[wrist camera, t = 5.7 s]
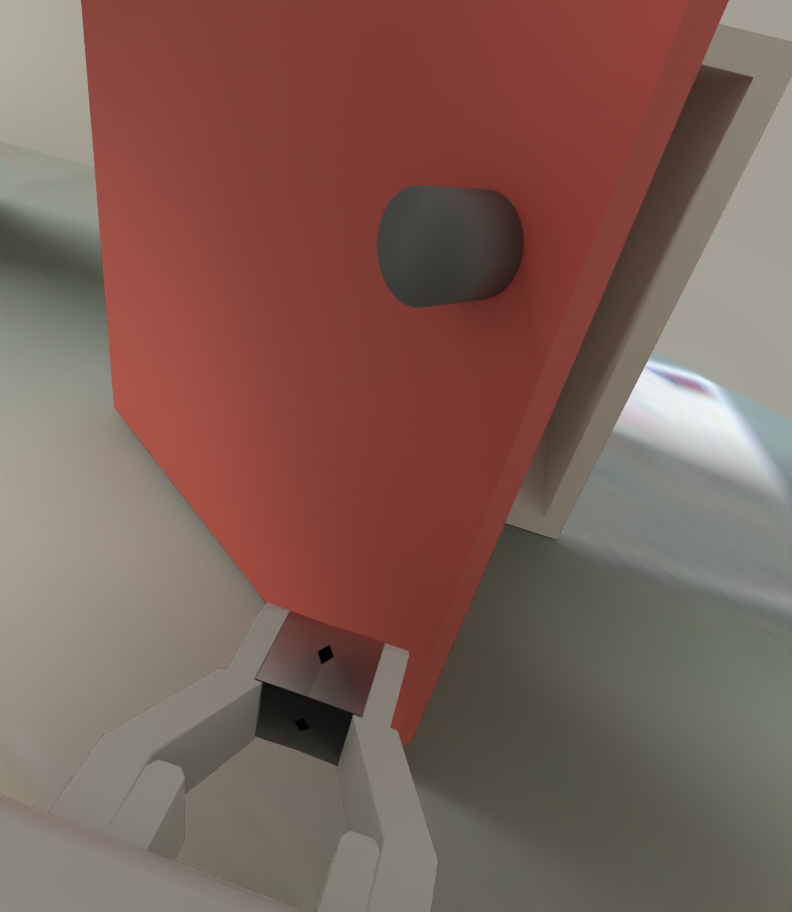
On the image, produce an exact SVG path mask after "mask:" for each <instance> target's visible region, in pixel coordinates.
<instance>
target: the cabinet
mask: <svg viewBox="0 0 792 912" xmlns="http://www.w3.org/2000/svg"><path fill="white" fill-rule="evenodd" d="M791 77H792V42H791V41H787V40H783V39H779V38H775V37H771V36H767V35H763V34H758V33H755V32H750V31H746V30H742V29H738V28H734V27H730V26H726V25H721V24H718V27H717V29H716V31H715V34H714V36H713V38H712V41H711V43H710V45H709V48H708V50H707V52H706V55H705V57H704V59H703V62H702V64H701V66H700V69H699V71H698V73H697V76H696V78H695V80H694V83H693V85H692V87H691V90H690V92H689V94H688V97H687V99H686V101H685V104H684V106H683V108H682V111H681V113H680V115H679V118H678V120H677V122H676V125H675V127H674V129H673V132H672V134H671V136H670V139H669V141H668V143H667V146H666V148H665V150H664V153H663V155H662V157H661V160H660V162H659V165H658V167H657V169H656V172H655V174H654V176H653V179H652V181H651V183H650V186H649V188H648V190H647V193H646V195H645V197H644V200H643V202H642V204H641V207H640V209H639V211H638V214H637V216H636V218H635V221H634V223H633V225H632V228H631V230H630V232H629V235H628V237H627V239H626V242H625V244H624V246H623V249H622V251H621V253H620V256H619V258H618V260H617V263H616V265H615V267H614V270H613V272H612V274H611V277H610V279H609V281H608V284H607V286H606V288H605V291H604V293H603V295H602V298H601V300H600V302H599V305H598V307H597V309H596V312H595V314H594V316H593V319H592V321H591V323H590V326H589V328H588V330H587V333H586V335H585V337H584V340H583V342H582V344H581V347H580V349H579V351H578V354H577V356H576V358H575V361H574V363H573V365H572V368H571V370H570V373H569V375H568V377H567V380H566V382H565V384H564V387H563V389H562V391H561V394H560V396H559V398H558V401H557V403H556V405H555V408H554V410H553V412H552V415H551V417H550V419H549V422H548V424H547V426H546V429H545V431H544V433H543V436H542V438H541V440H540V443H539V445H538V447H537V450H536V452H535V454H534V457H533V459H532V461H531V464H530V466H529V468H528V471H527V473H526V475H525V478H524V480H523V482H522V485H521V487H520V489H519V492H518V494H517V496H516V499H515V501H514V503H513V506H512V508H511V510H510V513H509V515H508V517H507V520H506V522H505V523H506V524H509V525H512V526H515V527H519V528H522V529H525V530H528V531H531V532H534V533H537V534H541V535H544V536H547V537H550V538H553V539H556V540H557V538H558V536H559V534H560V532H561V530H562V528H563V526H564V524H565V522H566V520H567V518H568V516H569V514H570V512H571V510H572V508H573V506H574V504H575V503H576V501H577V499H578V497H579V495H580V493H581V491H582V489H583V487H584V485H585V483H586V481H587V479H588V477H589V475H590V473H591V471H592V469H593V467H594V465H595V463H596V461H597V459H598V457H599V455H600V453H601V451H602V449H603V447H604V445H605V443H606V442H607V440H608V438H609V436H610V434H611V432H612V430H613V428H614V426H615V424H616V422H617V420H618V418H619V416H620V414H621V412H622V410H623V408H624V406H625V404H626V402H627V400H628V398H629V396H630V394H631V392H632V390H633V388H634V386H635V384H636V382H637V380H638V379H639V377H640V375H641V373H642V371H643V369H644V367H645V365H646V363H647V361H648V359H649V357H650V355H651V353H652V351H653V349H654V347H655V345H656V343H657V341H658V339H659V337H660V335H661V333H662V331H663V329H664V327H665V325H666V323H667V321H668V319H669V317H670V315H671V314H672V312H673V310H674V307H675V305H676V304H677V302H678V300H679V298H680V296H681V294H682V292H683V290H684V288H685V286H686V284H687V282H688V280H689V278H690V276H691V274H692V272H693V270H694V268H695V266H696V264H697V262H698V260H699V258H700V256H701V254H702V253H703V250H704V248H705V247H706V245H707V243H708V241H709V239H710V237H711V235H712V233H713V231H714V229H715V227H716V225H717V223H718V221H719V219H720V217H721V215H722V213H723V211H724V209H725V207H726V205H727V203H728V201H729V199H730V197H731V195H732V193H733V191H734V190H735V187H736V186H737V184H738V182H739V180H740V178H741V176H742V173H743V172H744V170H745V168H746V166H747V164H748V162H749V160H750V158H751V156H752V154H753V152H754V150H755V148H756V146H757V144H758V142H759V140H760V138H761V136H762V134H763V132H764V130H765V128H766V126H767V124H768V123H769V121H770V119H771V117H772V115H773V113H774V111H775V109H776V107H777V105H778V103H779V101H780V99H781V97H782V95H783V93H784V91H785V89H786V87H787V85H788V83H789V81H790V79H791Z"/></svg>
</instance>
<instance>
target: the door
mask: <svg viewBox="0 0 792 912" xmlns="http://www.w3.org/2000/svg"><path fill="white" fill-rule="evenodd" d="M728 1H729V0H81V5H82V15H83V29H84V42H85V54H86V66H87V78H88V91H89V102H90V115H91V127H92V140H93V152H94V164H95V177H96V189H97V202H98V214H99V226H100V238H101V251H102V263H103V275H104V288H105V300H106V312H107V325H108V337H109V349H110V361H111V374H112V386H113V398H114V408H115V409H116V410H117V412H118V413H119V414H120V415H121V417H122V418H123V419H124V421H125V422H126V423H127V424H128V426H129V427H130V428H131V430H132V431H133V432H134V433H135V435H136V436H137V437H138V439H139V440H140V441H141V442H142V444H143V445H144V446H145V448H146V449H147V450H148V451H149V453H150V454H151V455H152V457H153V458H154V459H155V460H156V462H157V463H158V464H159V466H160V467H161V468H162V469H163V471H164V472H165V473H166V475H167V476H168V477H169V478H170V480H171V481H172V482H173V484H174V485H175V486H176V487H177V489H178V490H179V491H180V493H181V494H182V495H183V496H184V498H185V499H186V500H187V502H188V503H189V504H190V505H191V507H192V508H193V509H194V511H195V512H196V513H197V514H198V516H199V517H200V518H201V520H202V521H203V522H204V523H205V525H206V526H207V527H208V529H209V530H210V531H211V532H212V534H213V535H214V536H215V538H216V539H217V540H218V541H219V543H220V544H221V545H222V547H223V548H224V549H225V551H226V552H227V553H228V554H229V556H230V557H231V558H232V560H233V561H234V562H235V563H236V565H237V566H238V567H239V569H240V570H241V571H242V572H243V574H244V575H245V576H246V578H247V579H248V580H249V581H250V583H251V584H252V585H253V587H254V588H255V589H256V590H257V592H258V593H259V594H260V596H261V597H262V598H263V599H264V601H265V602H266V603H267V602H268V603H271V604H274V605H277V606H280V607H283V608H286V609H288V610H291V611H294V612H296V613H299V614H302V615H304V616H307V617H310V618H313V619H315V620H318V621H321V622H323V623H326V624H329V625H331V626H334V627H340V628H343V629H346V630H349V631H352V632H355V633H358V634H361V635H364V636H368V637H371V638H374V639H377V640H380V641H383V642H384V644H385V643H386V644H389V645H392V646H395V647H398V648H401V649H405V650H408V651H409V658H408V661H407V665H406V669H405V673H404V677H403V681H402V684H401V688H400V692H399V696H398V700H397V703H396V707H395V711H394V715H393V719H392V723H391V726H390V728H393V729H395V730H397V731H398V734H399V737H400V740H401V744H402V747H404V746H406V745H407V744H408V743H410V742H411V741H412V739H413V737H414V735H415V732H416V730H417V728H418V725H419V723H420V721H421V718H422V716H423V714H424V711H425V709H426V707H427V704H428V702H429V700H430V697H431V695H432V693H433V690H434V688H435V686H436V683H437V681H438V679H439V676H440V674H441V672H442V669H443V667H444V665H445V662H446V660H447V658H448V655H449V653H450V651H451V648H452V646H453V644H454V641H455V639H456V637H457V634H458V632H459V630H460V627H461V625H462V623H463V620H464V618H465V616H466V613H467V611H468V609H469V606H470V604H471V602H472V599H473V597H474V595H475V592H476V590H477V588H478V585H479V583H480V581H481V578H482V576H483V573H484V571H485V569H486V566H487V564H488V562H489V559H490V557H491V555H492V552H493V550H494V548H495V545H496V543H497V541H498V538H499V536H500V534H501V531H502V529H503V527H504V524H505V522H506V520H507V517H508V515H509V513H510V510H511V508H512V506H513V503H514V501H515V499H516V496H517V494H518V492H519V489H520V487H521V485H522V482H523V480H524V478H525V475H526V473H527V471H528V468H529V466H530V464H531V461H532V459H533V457H534V454H535V452H536V450H537V447H538V445H539V443H540V440H541V438H542V436H543V433H544V431H545V429H546V426H547V424H548V422H549V419H550V417H551V415H552V412H553V410H554V408H555V405H556V403H557V401H558V398H559V396H560V394H561V391H562V389H563V387H564V384H565V382H566V380H567V377H568V375H569V373H570V370H571V368H572V365H573V363H574V361H575V358H576V356H577V354H578V351H579V349H580V347H581V344H582V342H583V340H584V337H585V335H586V333H587V330H588V328H589V326H590V323H591V321H592V319H593V316H594V314H595V312H596V309H597V307H598V305H599V302H600V300H601V298H602V295H603V293H604V291H605V288H606V286H607V284H608V281H609V279H610V277H611V274H612V272H613V270H614V267H615V265H616V263H617V260H618V258H619V256H620V253H621V251H622V249H623V246H624V244H625V242H626V239H627V237H628V235H629V232H630V230H631V228H632V225H633V223H634V221H635V218H636V216H637V214H638V211H639V209H640V207H641V204H642V202H643V200H644V197H645V195H646V193H647V190H648V188H649V186H650V183H651V181H652V179H653V176H654V174H655V172H656V169H657V167H658V165H659V162H660V160H661V157H662V155H663V153H664V150H665V148H666V146H667V143H668V141H669V139H670V136H671V134H672V132H673V129H674V127H675V125H676V122H677V120H678V118H679V115H680V113H681V111H682V108H683V106H684V104H685V101H686V99H687V97H688V94H689V92H690V90H691V87H692V85H693V83H694V80H695V78H696V76H697V73H698V71H699V69H700V66H701V64H702V62H703V59H704V57H705V55H706V52H707V50H708V48H709V45H710V43H711V41H712V38H713V36H714V34H715V31H716V29H717V27H718V24H719V22H720V20H721V17H722V15H723V13H724V10H725V8H726V6H727V3H728ZM383 646H384V645H383Z"/></svg>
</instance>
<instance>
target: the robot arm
mask: <svg viewBox="0 0 792 912" xmlns="http://www.w3.org/2000/svg"><path fill="white" fill-rule="evenodd" d="M383 645H384V646H383ZM408 658H409V651H408V650H405V649H401V648H398V647H395V646H392V645H389V644H386V643H385V644H384V642H383V641H380V640H377V639H374V638H371V637H368V636H364V635H361V634H358V633H355V632H352V631H349V630H346V629H343V628H340V627H334V626H331V625H329V624H326V623H323V622H321V621H318V620H315V619H313V618H310V617H307V616H304V615H302V614H299V613H296V612H294V611H291V610H288V609H286V608H283V607H280V606H277V605H274V604H271V603H268V602H267V604H266V605H265V606H264V607H263V608H262V609H261V611H260V613H259V614H258V616H257V618H256V620H255V621H254V623H253V625H252V627H251V628H250V630H249V632H248V634H247V635H246V637H245V639H244V641H243V642H242V644H241V646H240V648H239V649H238V651H237V653H236V655H235V657H234V658H233V660H232V662H231V664H230V665H229V667H228V669H224V668H218V669H216V670H215V671H213V672H211V673H209V674H208V675H206V676H204V677H202V678H201V679H199V680H197V681H196V682H194V683H192V684H190V685H189V686H187V687H185V688H183V689H182V690H180V691H178V692H176V693H175V694H173V695H171V696H170V697H168V698H166V699H164V700H163V701H161V702H159V703H157V704H156V705H154V706H152V707H151V708H149V709H147V710H145V711H144V712H142V713H140V714H138V715H137V716H135V717H133V718H131V719H130V720H128V721H126V722H125V723H123V724H121V725H119V726H118V727H116V728H114V729H112V730H111V731H109V732H107V733H106V734H104V735H102V737H101V738H100V739H99V741H98V742H97V744H96V745H95V746H94V748H93V749H92V751H91V752H90V754H89V755H88V756H87V758H86V759H85V761H84V762H83V763H82V765H81V766H80V768H79V769H78V770H77V772H76V773H75V775H74V776H73V778H72V779H71V780H70V782H69V783H68V785H67V786H66V787H65V789H64V790H63V792H62V793H61V794H60V796H59V797H58V799H57V800H56V801H55V803H54V804H53V806H52V807H51V809H50V810H49V811H48V812H46V811H43V810H41V809H38V808H36V807H33V806H30V805H28V804H25V803H23V802H20V801H17V800H15V799H12V798H10V797H7V796H4V795H2V794H0V912H306V911H303V910H301V909H298V908H296V907H293V906H290V905H288V904H285V903H283V902H280V901H277V900H275V899H272V898H270V897H267V896H264V895H262V894H259V893H257V892H254V891H251V890H249V889H246V888H244V887H241V886H238V885H236V884H233V883H231V882H228V881H225V880H223V879H220V878H218V877H215V876H213V875H210V874H207V873H205V872H202V871H200V870H197V869H194V868H192V867H189V866H187V865H184V864H181V863H179V862H176V861H175V858H176V856H177V854H178V852H179V850H180V848H181V846H182V844H183V842H184V840H185V794H186V793H187V792H188V791H190V790H191V789H192V788H193V787H195V786H196V785H197V784H198V783H200V782H201V781H202V780H203V779H205V778H206V777H207V776H208V775H210V774H211V773H212V772H214V771H215V770H216V769H217V768H219V767H220V766H221V765H222V764H224V763H225V762H226V761H227V760H229V759H230V758H231V757H232V756H234V755H235V754H236V753H237V752H239V751H240V750H241V749H242V748H244V747H245V746H246V745H247V744H249V743H250V742H251V741H253V740H254V737H255V736H256V737H259V738H262V739H265V740H268V741H271V742H274V743H277V744H280V745H283V746H286V747H289V748H292V749H295V750H298V751H301V752H303V753H306V754H308V755H311V756H313V757H316V758H318V759H321V760H323V761H326V762H328V763H331V764H334V765H336V766H337V772H338V778H339V784H340V789H341V795H342V801H343V807H344V812H345V818H346V824H347V829H348V832H347V833H346V834H344V835H342V836H341V838H340V841H339V844H338V846H337V849H336V852H335V854H334V857H333V860H332V862H331V865H330V868H329V870H328V873H327V876H326V878H325V881H324V884H323V886H322V889H321V892H320V895H319V898H318V902H317V905H316V908H315V911H314V912H430V911H431V904H432V898H433V891H434V885H435V878H436V872H437V865H438V859H437V856H436V852H435V849H434V846H433V843H432V840H431V836H430V833H429V830H428V827H427V824H426V820H425V817H424V814H423V811H422V808H421V804H420V801H419V798H418V795H417V792H416V788H415V785H414V782H413V779H412V776H411V772H410V769H409V766H408V763H407V760H406V756H405V753H404V750H403V747H402V744H401V740H400V737H399V734H398V731H397V730H395V729H393V728H390V726H391V723H392V719H393V715H394V711H395V707H396V703H397V700H398V696H399V692H400V688H401V684H402V681H403V677H404V673H405V669H406V665H407V661H408Z"/></svg>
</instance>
